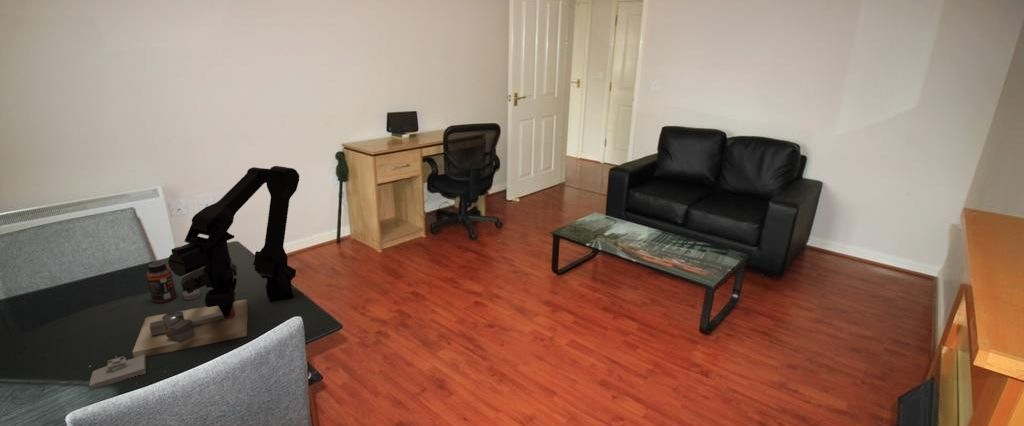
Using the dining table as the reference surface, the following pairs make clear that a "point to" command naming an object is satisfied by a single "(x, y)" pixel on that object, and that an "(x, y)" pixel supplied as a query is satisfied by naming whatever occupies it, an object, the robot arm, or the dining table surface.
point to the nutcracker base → (199, 331)
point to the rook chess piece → (192, 295)
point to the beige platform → (118, 371)
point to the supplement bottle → (160, 282)
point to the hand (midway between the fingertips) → (227, 312)
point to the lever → (177, 316)
